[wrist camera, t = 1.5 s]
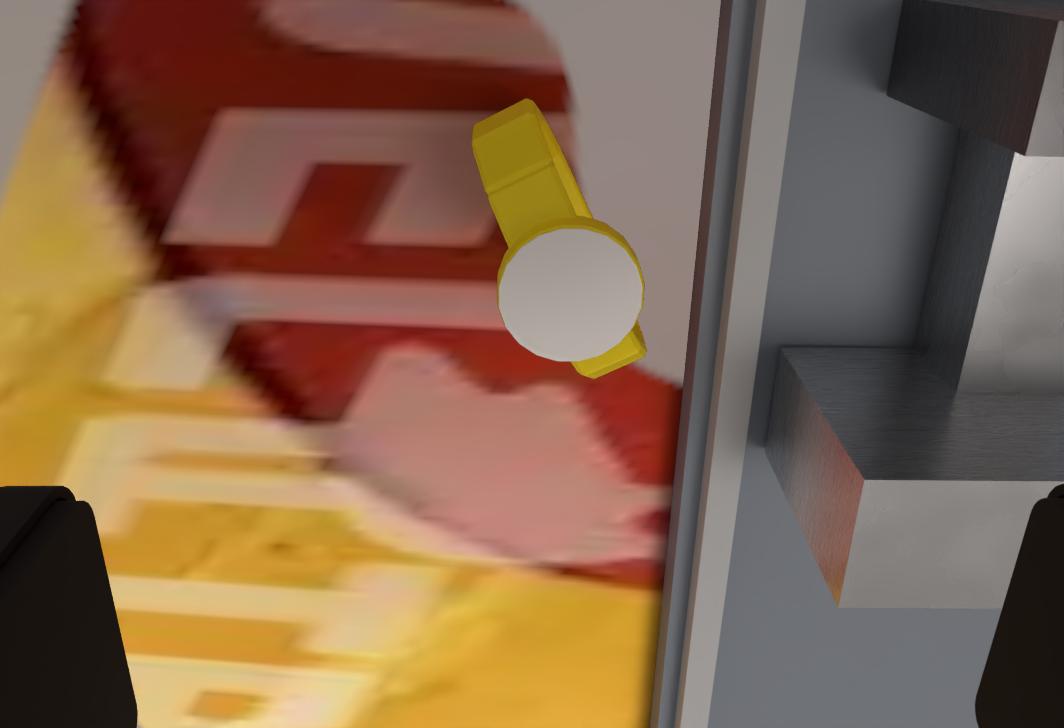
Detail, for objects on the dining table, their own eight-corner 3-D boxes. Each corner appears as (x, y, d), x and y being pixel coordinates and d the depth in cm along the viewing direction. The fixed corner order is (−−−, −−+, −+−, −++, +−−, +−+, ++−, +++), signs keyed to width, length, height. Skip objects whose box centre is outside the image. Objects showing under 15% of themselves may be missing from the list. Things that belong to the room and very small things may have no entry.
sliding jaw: (1259, 2, 19) (1555, 29, 14) (1108, 455, 24) (1282, 610, 18) (831, -5, 19) (958, 18, 13) (764, 452, 23) (838, 607, 18)
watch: (652, 278, 23) (700, 398, 18) (554, 322, 24) (574, 451, 19) (553, 60, 21) (576, 128, 15) (445, 115, 21) (432, 199, 16)
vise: (1336, -101, 19) (1841, -123, 12) (977, 919, 34) (1105, 1195, 26) (732, -112, 19) (865, -143, 12) (630, 920, 34) (661, 1197, 26)
